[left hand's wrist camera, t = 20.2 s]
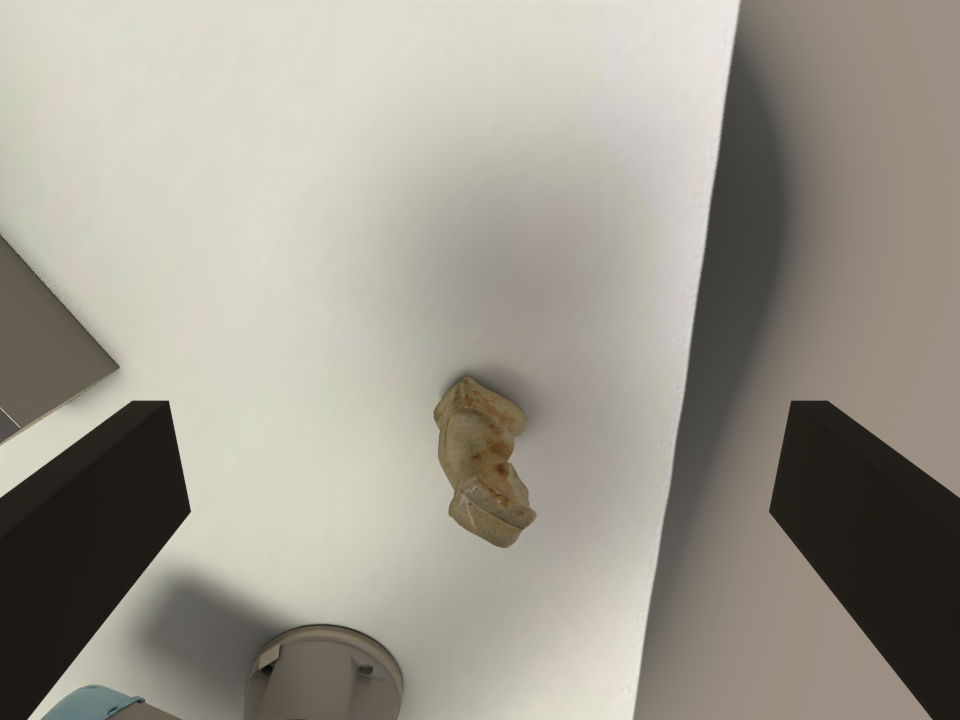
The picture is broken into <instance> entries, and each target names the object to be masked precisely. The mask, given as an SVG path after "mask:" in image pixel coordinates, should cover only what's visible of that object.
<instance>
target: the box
mask: <svg viewBox="0 0 960 720" xmlns="http://www.w3.org/2000/svg"><path fill="white" fill-rule="evenodd" d="M117 369H119V367H118V366H117V365H116V363H115V362H114V361H113V360H112V359H111V358H110V357H109V356H108V355H107V354H106V352H105V351H104V350H103V349H102V348H101V347H100V346H99V345H98V344H97V342H96V341H95V340H94V339H93V338H92V337H91V336H90V335H89V334H88V332H87V331H86V330H85V329H84V328H83V327H82V326H81V325H80V324H79V323H78V321H77V320H76V319H75V318H74V317H73V316H72V315H71V314H70V313H69V311H68V310H67V309H66V308H65V307H64V306H63V305H62V304H61V303H60V301H59V300H58V299H57V298H56V297H55V296H54V295H53V294H52V293H51V292H50V290H49V289H48V288H47V287H46V286H45V285H44V284H43V283H42V282H41V280H40V279H39V278H38V277H37V276H36V275H35V274H34V273H33V272H32V270H31V269H30V268H29V267H28V266H27V265H26V264H25V263H24V262H23V261H22V259H21V258H20V257H19V256H18V255H17V254H16V253H15V252H14V251H13V249H12V248H11V247H10V246H9V245H8V244H7V243H6V242H5V241H4V239H3V238H2V237H1V236H0V446H1V445H2V444H4V443H5V442H7V441H9V440H10V439H12V438H13V437H15V436H16V435H18V434H20V433H21V432H23V431H24V430H26V429H28V428H29V427H31V426H32V425H34V424H36V423H37V422H39V421H40V420H42V419H43V418H45V417H47V416H48V415H50V414H51V413H53V412H55V411H56V410H58V409H59V408H61V407H63V406H64V405H66V404H67V403H69V402H70V401H72V400H73V399H75V398H76V397H77V396H79V395H80V394H82V393H83V392H85V391H86V390H88V389H89V388H91V387H92V386H94V385H95V384H97V383H98V382H100V381H101V380H103V379H104V378H105V377H107V376H108V375H110V374H111V373H113V372H114V371H116V370H117Z"/></svg>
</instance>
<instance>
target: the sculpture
mask: <svg viewBox="0 0 960 720" xmlns="http://www.w3.org/2000/svg"><path fill="white" fill-rule="evenodd" d="M434 419H435V422H436V424H437V426H438V428H439V430H440V435H439V447H438V458H439V462H440V464H441V466H442V468H443V470H444V472H445V474H446V476H447V478H448V480H449V482H450V484H451V485H452V487H453V489H454V490H455V492H454V498H453V499H452V501H451V503H450V506H449V516H450V517H452V518H453V519H454V520H455V521H456V522H457V523H458V524H459V525H460V526H462V527H463V528H464V529H466V530H468V531H469V532H471V533H473V534H475V535H477V536H479V537H481V538H483V539H484V540H486V541H488V542H490V543H491V544H493V545H495V546H498V547H502V548H507V547H509V546H511V545H512V544H513V543H515V542H516V540H517V539H518V537H519V535H520V533H521V532H522V530H524V529H525V528H526V527H527V526H529V525H530V524H531V523H532V522H533V521H534V520H535V518H536V513H535V512H534V511H533V510H532V509H531V508H530V507H529V500H528V489H527V488H526V486H525V485H524V483H523V482H522V481H521V480H520V478H519V477H518V475H517V473H516V471H515V469H514V467H513V465H512V464H511V463H508V462H507V461H508V459H509V457H510V456H511V454H512V452H513V450H514V439H513V438H514V437H516V436H517V435H520V434H521V432H522V431H523V430H524V429H525V427H526V417H525V415H524V413H523V412H522V410H521V409H520V408H519V407H518V406H517V405H515V404H514V403H513V402H511V401H509V400H508V399H506V398H504V397H502V396H500V395H498V394H496V393H494V392H492V391H490V390H488V389H486V388H484V387H482V386H480V385H479V384H478V383H476V381H475V380H474V379H472V378H469V377H465V378H463V379H462V380H461V381H460V382H459V383H457V384H455V385H454V386H453V387H452V388H451V389H450V390H449V391H448V392H447V393H446V394H445V396H444V397H443V398H442V399H441V400H440V402H439V403H438V405H437V406H436V408H435V410H434Z"/></svg>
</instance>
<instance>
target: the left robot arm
mask: <svg viewBox="0 0 960 720" xmlns="http://www.w3.org/2000/svg"><path fill="white" fill-rule="evenodd" d="M190 512H191V509H190V504H189V499H188V494H187V489H186V484H185V479H184V474H183V469H182V464H181V459H180V454H179V449H178V444H177V439H176V434H175V429H174V424H173V419H172V414H171V410H170V405H169V401H131V402H130V403H129V404H127V405H126V406H125V407H123V408H122V409H120V410H119V411H118V412H116V413H115V414H114V415H112V416H111V417H110V418H108V419H107V420H106V421H104V422H103V423H101V424H100V425H99V426H97V427H96V428H95V429H93V430H92V431H91V432H89V433H88V434H87V435H85V436H84V437H82V438H81V439H80V440H78V441H77V442H76V443H74V444H73V445H72V446H70V447H69V448H68V449H66V450H65V451H63V452H62V453H61V454H59V455H58V456H57V457H55V458H54V459H53V460H51V461H50V462H48V463H47V464H46V465H44V466H43V467H42V468H40V469H39V470H38V471H36V472H35V473H34V474H32V475H31V476H29V477H28V478H27V479H25V480H24V481H23V482H21V483H20V484H19V485H17V486H16V487H15V488H13V489H12V490H10V491H9V492H8V493H6V494H5V495H4V496H2V497H1V498H0V720H27V719H28V718H29V717H30V716H31V714H32V713H33V712H34V710H35V709H36V708H37V707H38V705H39V704H40V703H41V702H42V700H43V699H44V698H45V697H46V695H47V694H48V693H49V691H50V690H51V689H52V688H53V686H54V685H55V684H56V683H57V681H58V680H59V679H60V677H61V676H62V675H63V674H64V672H65V671H66V670H67V669H68V667H69V666H70V665H71V663H72V662H73V661H74V660H75V658H76V657H77V656H78V655H79V653H80V652H81V651H82V650H83V648H84V647H85V646H86V644H87V643H88V642H89V641H90V639H91V638H92V637H93V636H94V634H95V633H96V632H97V630H98V629H99V628H100V627H101V625H102V624H103V623H104V622H105V620H106V619H107V618H108V617H109V615H110V614H111V613H112V611H113V610H114V609H115V608H116V606H117V605H118V604H119V603H120V601H121V600H122V599H123V597H124V596H125V595H126V594H127V592H128V591H129V590H130V589H131V587H132V586H133V585H134V583H135V582H136V581H137V580H138V578H139V577H140V576H141V575H142V573H143V572H144V571H145V570H146V568H147V567H148V566H149V564H150V563H151V562H152V561H153V559H154V558H155V557H156V556H157V554H158V553H159V552H160V550H161V549H162V548H163V547H164V545H165V544H166V543H167V542H168V540H169V539H170V538H171V537H172V535H173V534H174V533H175V531H176V530H177V529H178V528H179V526H180V525H181V524H182V523H183V521H184V520H185V519H186V517H187V516H188V515H189V514H190ZM769 512H770V514H771V515H772V516H773V517H774V519H775V520H776V521H777V523H778V524H779V525H780V526H781V528H782V529H783V530H784V531H785V533H786V534H787V535H788V536H789V538H790V539H791V540H792V542H793V543H794V544H795V545H796V547H797V548H798V549H799V550H800V552H801V553H802V554H803V556H804V557H805V558H806V559H807V561H808V562H809V563H810V564H811V566H812V567H813V568H814V569H815V571H816V572H817V573H818V575H819V576H820V577H821V578H822V580H823V581H824V582H825V583H826V585H827V586H828V587H829V589H830V590H831V591H832V592H833V594H834V595H835V596H836V597H837V599H838V600H839V601H840V603H841V604H842V605H843V606H844V608H845V609H846V610H847V611H848V613H849V614H850V615H851V617H852V618H853V619H854V620H855V622H856V623H857V624H858V625H859V627H860V628H861V629H862V630H863V632H864V633H865V634H866V635H867V637H868V638H869V639H870V641H871V642H872V643H873V644H874V646H875V647H876V648H877V650H878V651H879V652H880V653H881V655H882V656H883V657H884V658H885V660H886V661H887V662H888V663H889V665H890V666H891V667H892V669H893V670H894V671H895V672H896V674H897V675H898V676H899V677H900V679H901V680H902V681H903V683H904V684H905V685H906V686H907V688H908V689H909V690H910V691H911V693H912V694H913V695H914V696H915V698H916V699H917V700H918V702H919V703H920V704H921V705H922V707H923V708H924V709H925V710H926V712H927V713H928V714H929V716H930V717H931V718H932V719H933V720H960V498H959V497H958V496H956V495H955V494H954V493H952V492H951V491H950V490H948V489H947V488H945V487H944V486H943V485H941V484H940V483H939V482H937V481H936V480H935V479H933V478H932V477H931V476H929V475H928V474H926V473H925V472H924V471H922V470H921V469H920V468H918V467H917V466H916V465H914V464H913V463H912V462H910V461H909V460H907V459H906V458H905V457H903V456H902V455H901V454H899V453H898V452H897V451H895V450H894V449H892V448H891V447H890V446H888V445H887V444H886V443H884V442H883V441H882V440H880V439H879V438H878V437H876V436H875V435H873V434H872V433H871V432H869V431H868V430H867V429H865V428H864V427H863V426H861V425H860V424H859V423H857V422H856V421H854V420H853V419H852V418H850V417H849V416H848V415H846V414H845V413H844V412H842V411H841V410H840V409H838V408H837V407H835V406H834V405H833V404H831V403H830V402H829V401H791V404H790V410H789V415H788V420H787V424H786V430H785V434H784V440H783V444H782V449H781V454H780V459H779V465H778V469H777V474H776V480H775V485H774V489H773V495H772V500H771V504H770V509H769ZM402 690H403V684H402V677H401V674H400V671H399V668H398V666H397V665H396V663H395V661H394V660H393V658H392V657H391V656H390V655H389V653H388V652H387V651H386V650H385V649H384V648H383V647H381V646H380V645H379V644H378V643H376V642H375V641H373V640H372V639H370V638H368V637H366V636H364V635H362V634H360V633H357V632H354V631H351V630H348V629H344V628H339V627H333V626H309V627H302V628H298V629H294V630H291V631H288V632H286V633H283V634H281V635H279V636H278V637H276V638H275V639H273V640H272V641H270V642H269V643H268V644H267V645H266V646H265V647H264V648H263V649H262V650H261V652H260V653H259V655H258V656H257V658H256V660H255V663H254V665H253V667H252V670H251V672H250V674H249V676H248V680H247V683H246V694H245V709H244V720H397V717H398V714H399V711H400V704H401V697H402ZM41 720H182V719H179V718H177V717H175V716H173V715H171V714H168V713H166V712H164V711H162V710H160V709H157V708H155V707H153V706H151V705H149V704H146V703H145V699H143V698H141V697H138V696H137V697H130V696H127V695H125V694H122V693H120V692H117V691H115V690H112V689H110V688H107V687H104V686H101V685H89V686H85V687H82V688H79V689H77V690H76V691H74V692H72V693H70V694H69V695H68V696H66V697H65V698H64V699H62V700H61V701H60V702H59V703H58V704H57V705H55V706H54V707H53V708H52V709H51V710H50V711H49V712H48V713H47V714H46V715H45V716H44V717H43V718H42V719H41Z"/></svg>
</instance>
